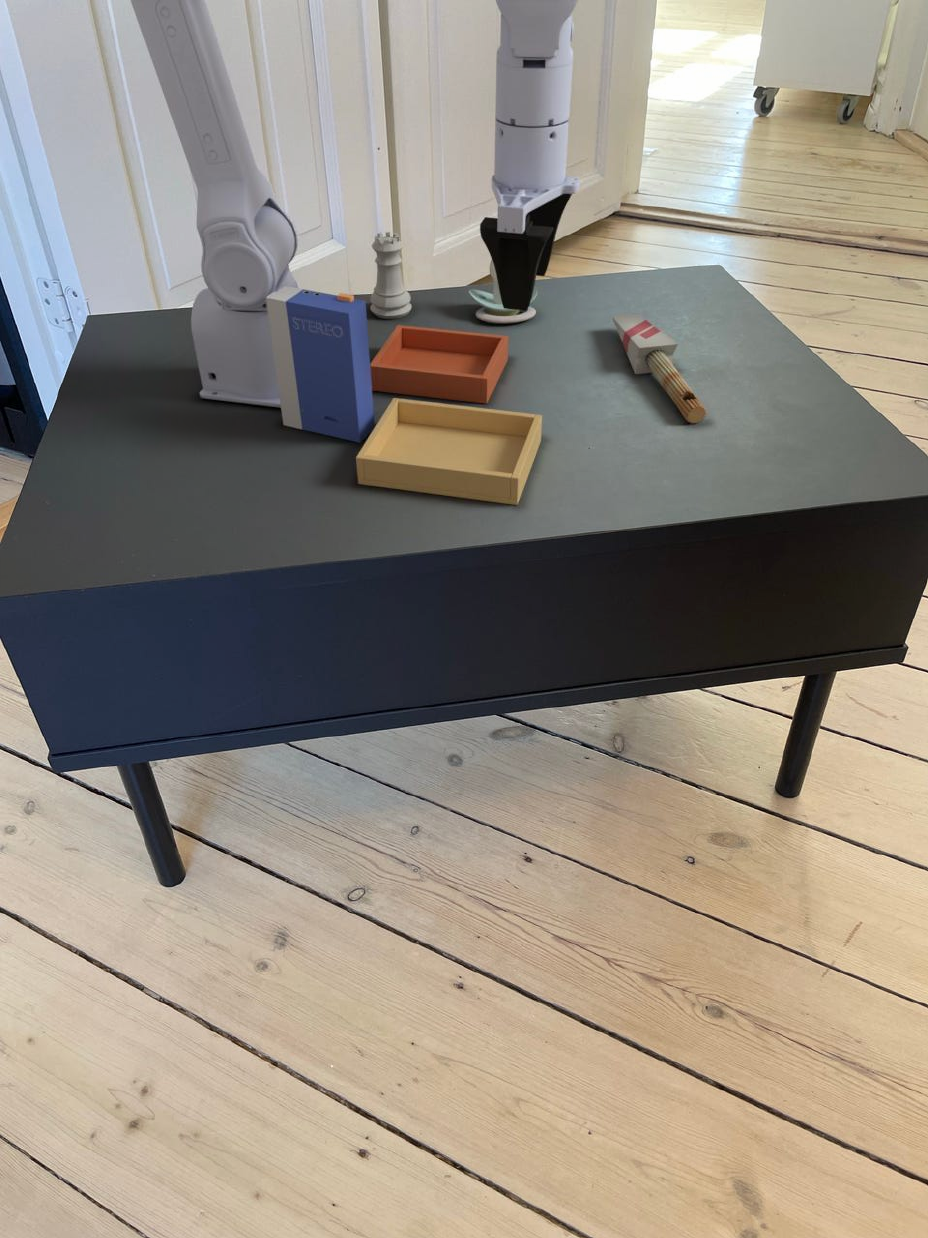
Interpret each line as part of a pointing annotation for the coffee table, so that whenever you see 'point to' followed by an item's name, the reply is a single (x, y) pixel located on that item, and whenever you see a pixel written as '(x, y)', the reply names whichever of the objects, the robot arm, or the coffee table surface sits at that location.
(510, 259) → the robot arm
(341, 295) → the walkman
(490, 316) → the pacifier
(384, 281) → the rook chess piece
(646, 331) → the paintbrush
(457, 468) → the birch tray
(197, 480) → the coffee table surface
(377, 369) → the terracotta tray
